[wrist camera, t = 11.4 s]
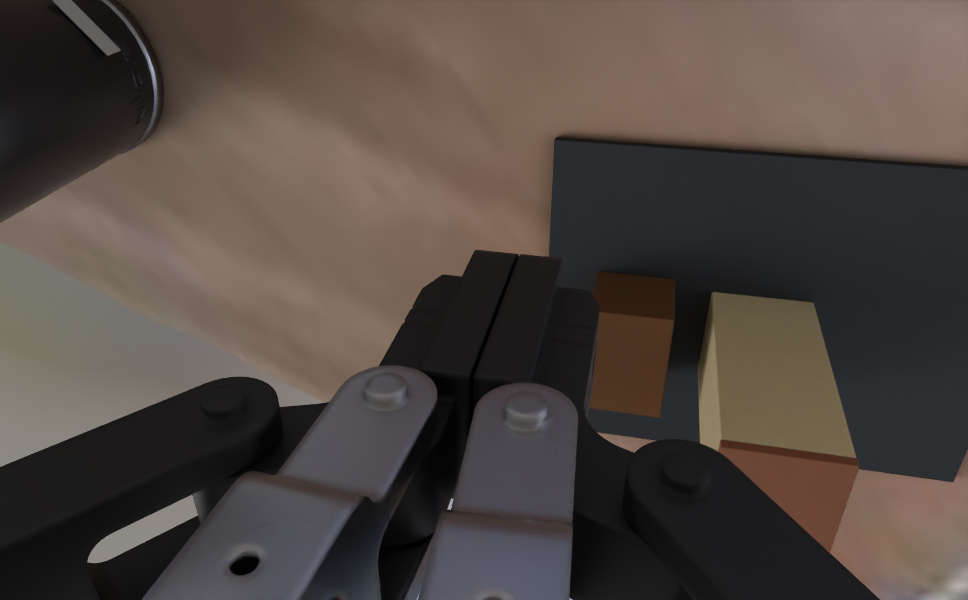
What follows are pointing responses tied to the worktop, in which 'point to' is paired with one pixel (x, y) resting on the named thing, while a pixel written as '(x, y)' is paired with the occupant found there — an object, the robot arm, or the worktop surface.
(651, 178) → the mat
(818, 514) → the carton
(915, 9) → the worktop surface
